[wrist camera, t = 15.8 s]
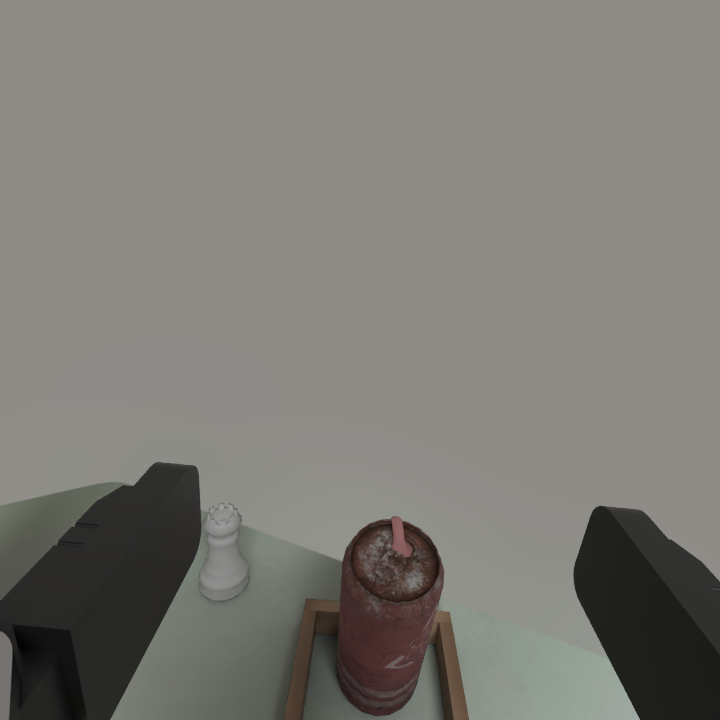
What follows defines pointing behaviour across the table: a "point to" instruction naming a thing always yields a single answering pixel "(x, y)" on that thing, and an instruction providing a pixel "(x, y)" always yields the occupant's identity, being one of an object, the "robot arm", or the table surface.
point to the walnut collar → (326, 620)
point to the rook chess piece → (223, 556)
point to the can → (386, 613)
